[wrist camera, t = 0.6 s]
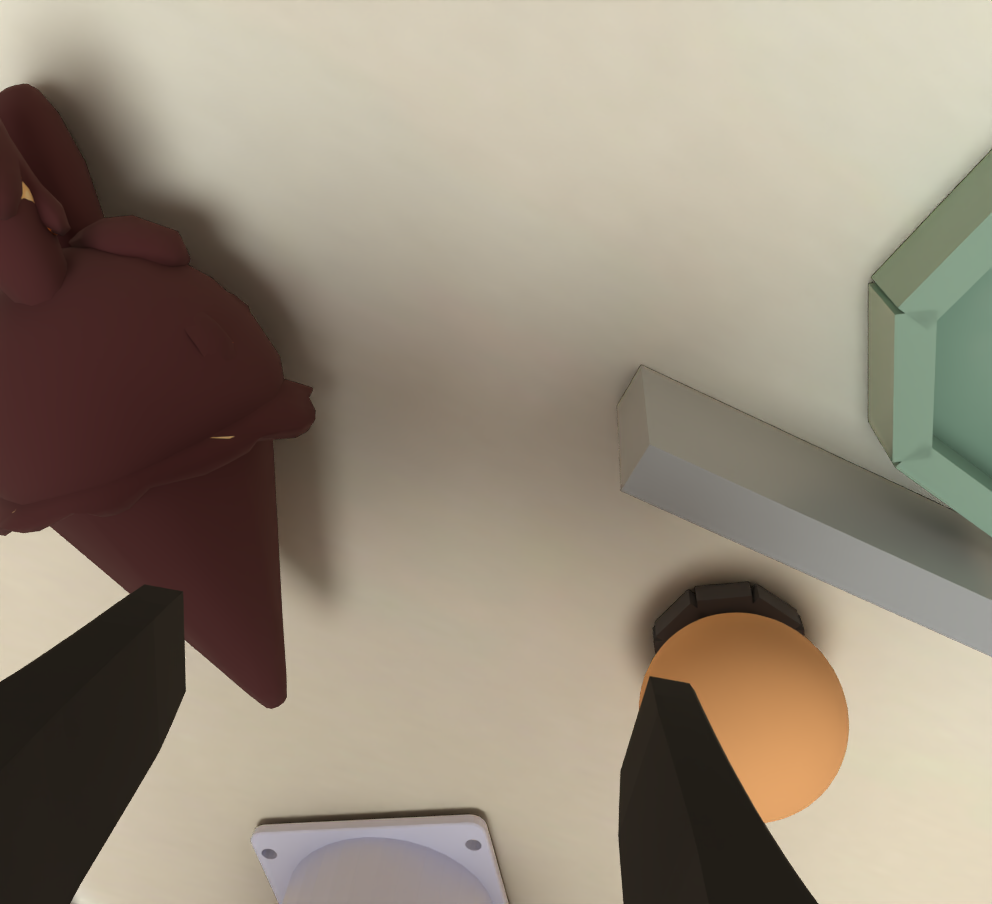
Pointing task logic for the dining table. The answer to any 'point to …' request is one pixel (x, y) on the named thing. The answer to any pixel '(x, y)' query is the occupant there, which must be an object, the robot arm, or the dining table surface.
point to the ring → (722, 608)
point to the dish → (938, 351)
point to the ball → (763, 705)
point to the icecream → (138, 403)
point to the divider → (805, 508)
